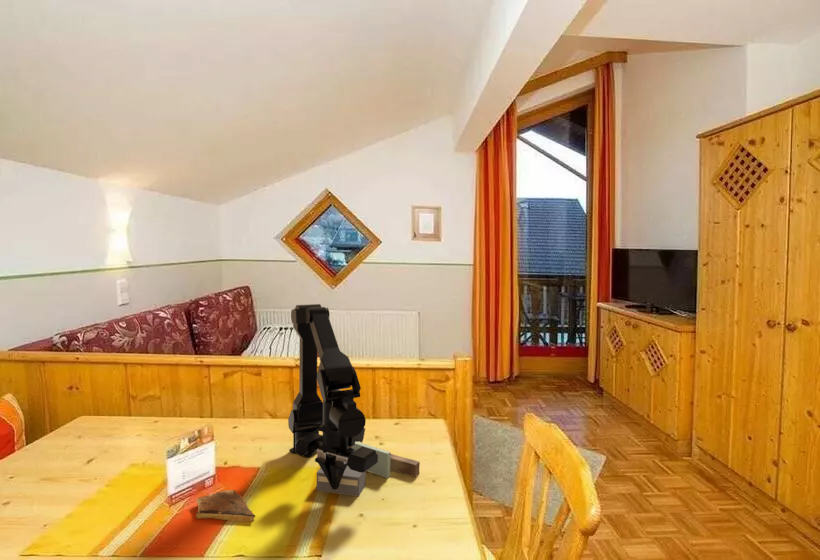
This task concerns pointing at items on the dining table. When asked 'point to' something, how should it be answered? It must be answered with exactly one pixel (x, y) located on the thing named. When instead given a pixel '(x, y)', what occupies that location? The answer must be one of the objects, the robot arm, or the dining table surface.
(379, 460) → the door
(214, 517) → the shard
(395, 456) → the bar
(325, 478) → the grey block
